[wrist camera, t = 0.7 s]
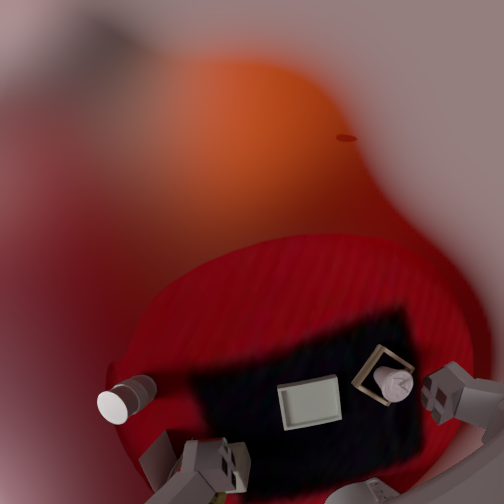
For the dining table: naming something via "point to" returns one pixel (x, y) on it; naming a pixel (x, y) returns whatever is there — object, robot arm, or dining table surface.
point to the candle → (126, 398)
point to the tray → (310, 402)
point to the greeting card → (160, 462)
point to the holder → (369, 366)
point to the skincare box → (240, 466)
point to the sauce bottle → (218, 498)
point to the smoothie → (393, 383)
